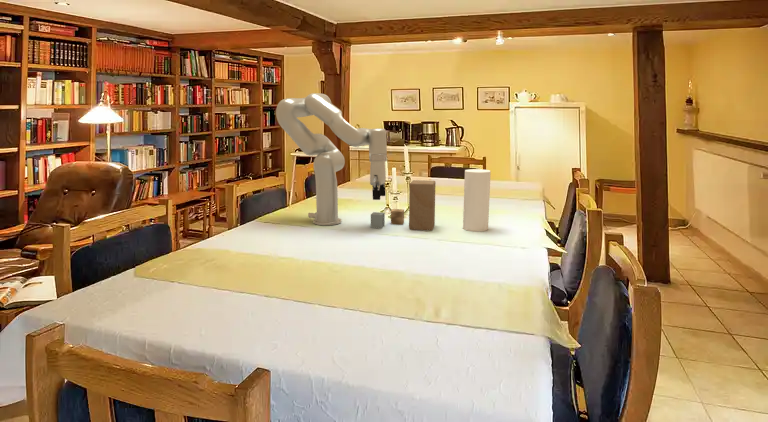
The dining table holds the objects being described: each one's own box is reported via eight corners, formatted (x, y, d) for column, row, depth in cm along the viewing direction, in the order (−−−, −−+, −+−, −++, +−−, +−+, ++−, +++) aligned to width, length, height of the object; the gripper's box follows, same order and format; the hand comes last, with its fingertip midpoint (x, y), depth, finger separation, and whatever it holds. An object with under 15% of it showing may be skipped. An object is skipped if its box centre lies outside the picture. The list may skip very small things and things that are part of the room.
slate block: (370, 228, 222) (370, 214, 221) (373, 225, 227) (373, 212, 226) (382, 228, 221) (382, 215, 220) (384, 226, 226) (384, 212, 225)
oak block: (390, 224, 229) (390, 211, 228) (393, 221, 234) (393, 209, 233) (401, 224, 228) (402, 211, 227) (404, 222, 233) (404, 209, 232)
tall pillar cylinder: (492, 228, 222) (495, 170, 217) (479, 232, 214) (481, 172, 209) (472, 224, 229) (474, 168, 224) (458, 228, 221) (459, 170, 216)
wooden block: (432, 230, 217) (433, 183, 213) (408, 229, 219) (409, 183, 215) (434, 225, 227) (435, 180, 223) (412, 224, 229) (412, 179, 225)
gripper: (374, 156, 227) (375, 194, 230) (364, 159, 211) (365, 201, 214) (390, 156, 225) (391, 194, 229) (382, 159, 209) (383, 201, 212)
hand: (379, 197), depth 221 cm, fingers open, 9 cm apart
